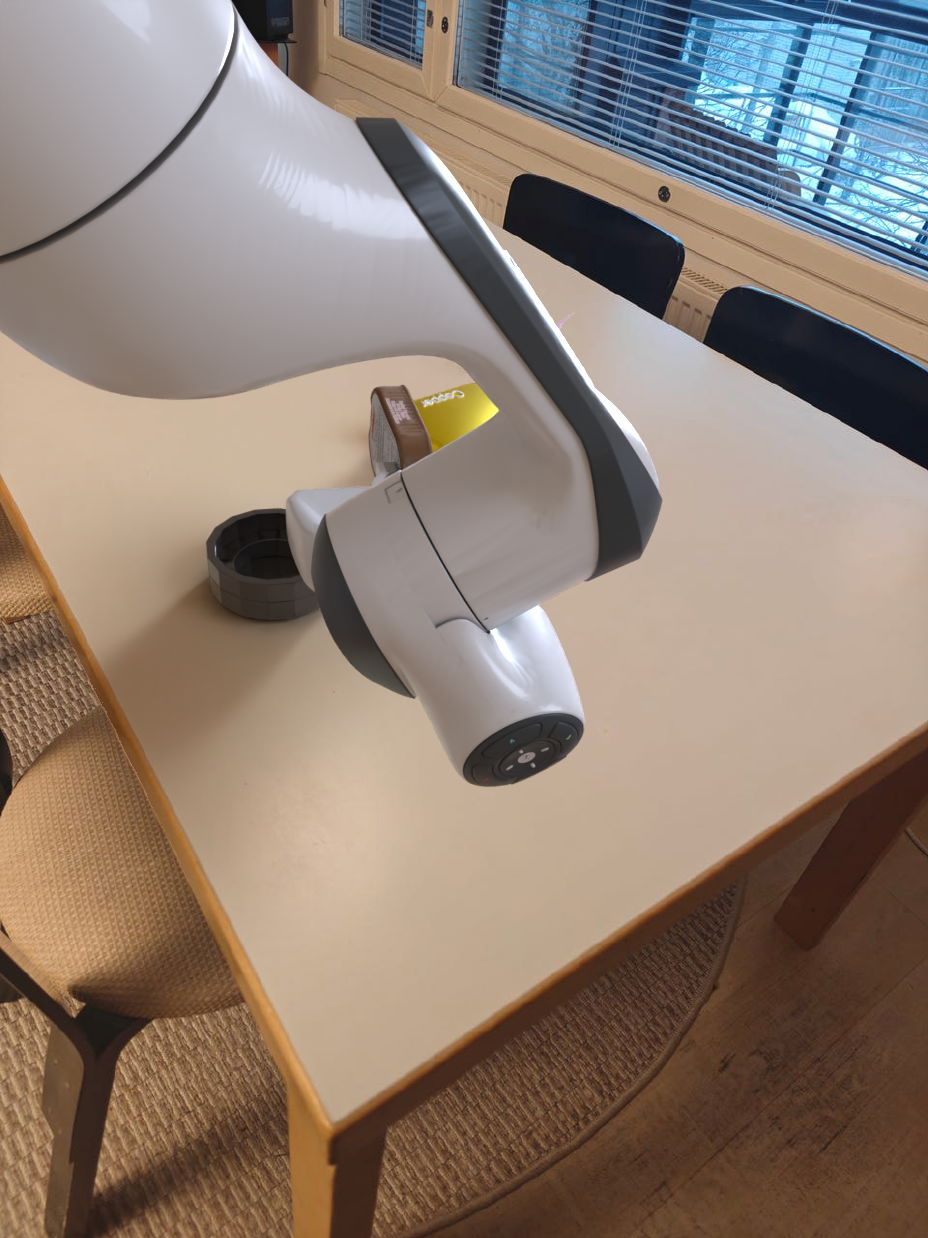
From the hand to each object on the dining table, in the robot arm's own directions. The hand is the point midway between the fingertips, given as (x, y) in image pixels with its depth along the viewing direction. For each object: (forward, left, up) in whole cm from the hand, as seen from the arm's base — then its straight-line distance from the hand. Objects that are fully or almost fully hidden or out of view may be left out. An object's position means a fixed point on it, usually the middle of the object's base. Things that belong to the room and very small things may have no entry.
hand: (409, 468), depth 67 cm
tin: (0, +4, -5) cm, 6 cm away
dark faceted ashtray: (-10, +8, -16) cm, 21 cm away
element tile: (+15, +30, -17) cm, 37 cm away
